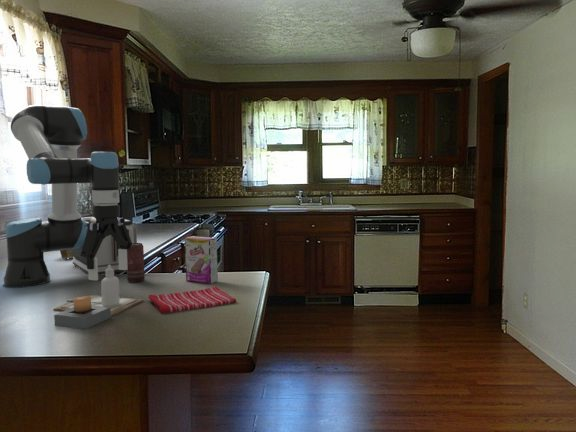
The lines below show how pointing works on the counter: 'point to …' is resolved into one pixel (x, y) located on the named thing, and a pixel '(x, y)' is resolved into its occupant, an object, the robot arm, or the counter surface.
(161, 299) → the dish towel
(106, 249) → the toaster
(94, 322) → the button housing
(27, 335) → the counter surface
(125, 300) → the brown picture frame
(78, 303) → the button
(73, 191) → the robot arm
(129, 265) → the can
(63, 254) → the ceramic cup
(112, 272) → the eye dropper bottle
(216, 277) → the candy bar box
